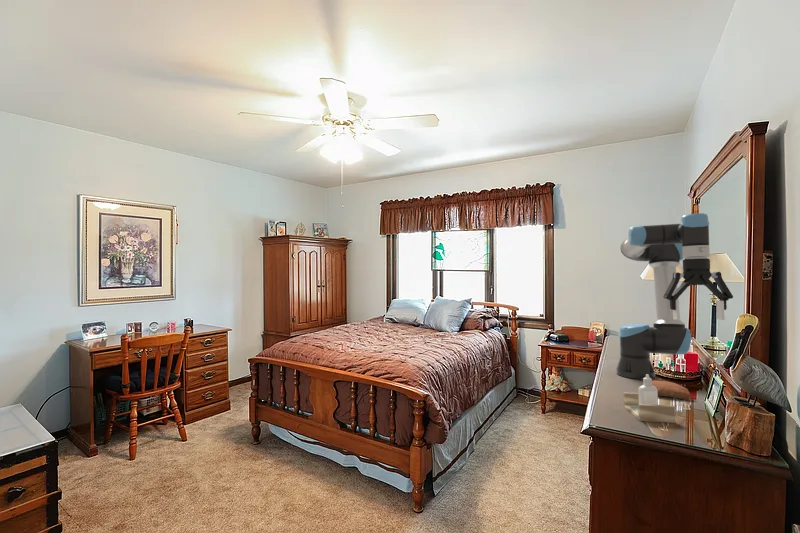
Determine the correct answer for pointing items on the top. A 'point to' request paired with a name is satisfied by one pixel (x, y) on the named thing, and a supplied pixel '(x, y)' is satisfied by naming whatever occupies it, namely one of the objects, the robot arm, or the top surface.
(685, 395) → the ceramic shard
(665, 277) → the robot arm
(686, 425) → the top surface
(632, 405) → the rack
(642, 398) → the eye dropper bottle
